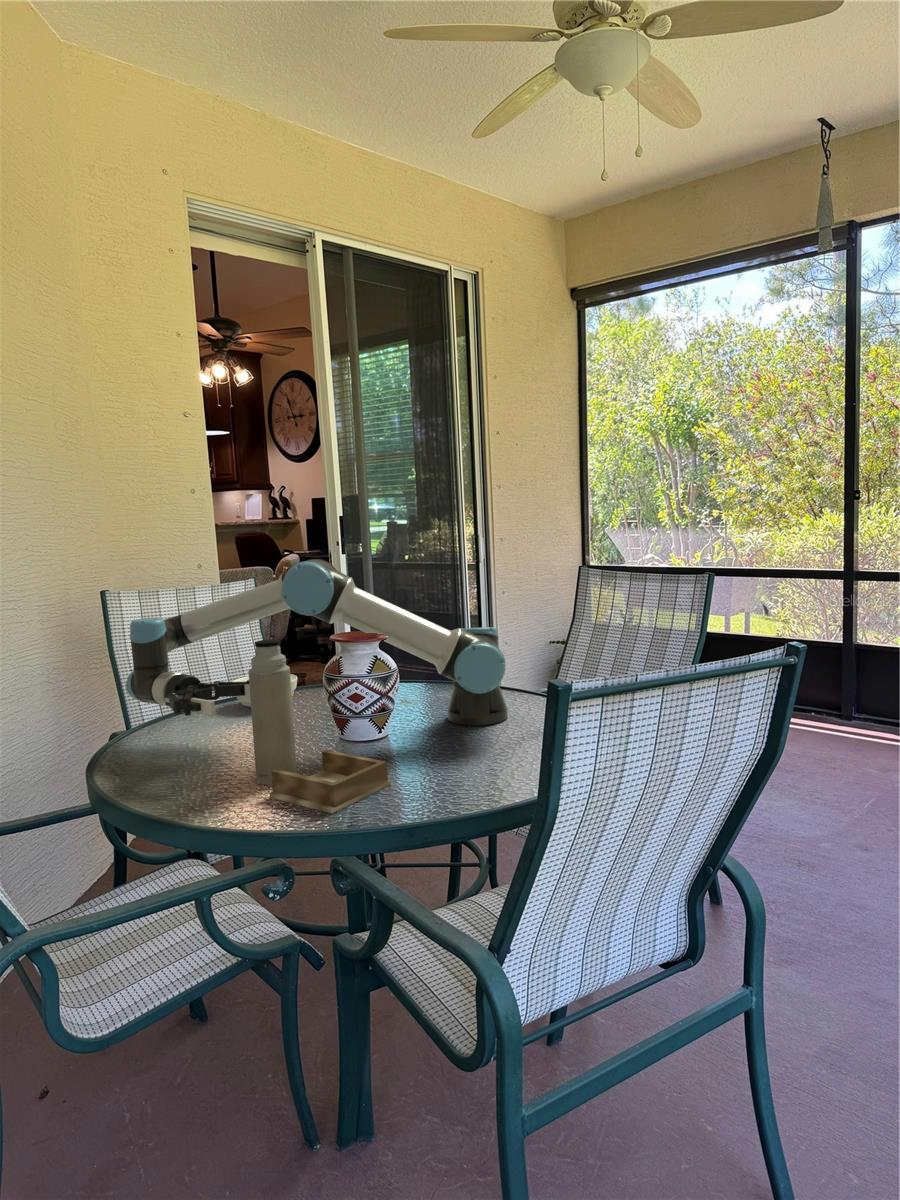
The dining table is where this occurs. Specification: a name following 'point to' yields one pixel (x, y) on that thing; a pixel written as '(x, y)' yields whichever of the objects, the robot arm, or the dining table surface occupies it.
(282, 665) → the thermos bottle
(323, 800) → the walnut cradle
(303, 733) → the dining table surface
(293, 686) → the bowl
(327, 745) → the dining table surface
